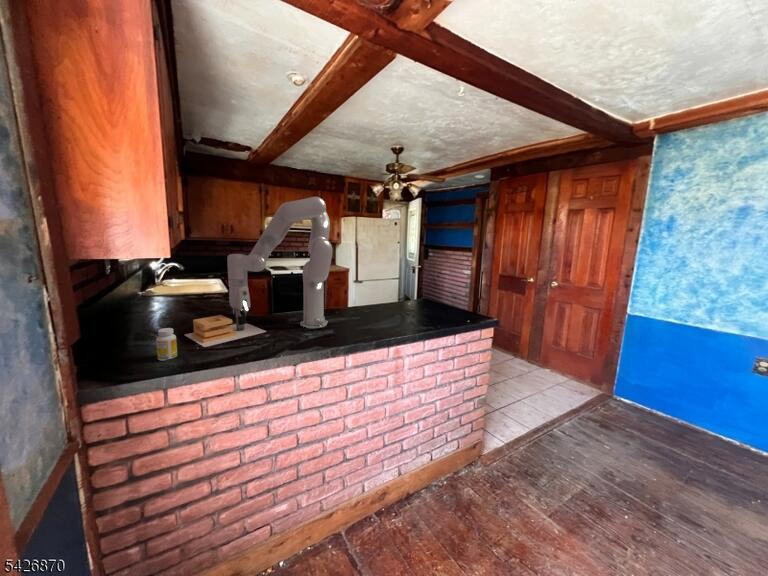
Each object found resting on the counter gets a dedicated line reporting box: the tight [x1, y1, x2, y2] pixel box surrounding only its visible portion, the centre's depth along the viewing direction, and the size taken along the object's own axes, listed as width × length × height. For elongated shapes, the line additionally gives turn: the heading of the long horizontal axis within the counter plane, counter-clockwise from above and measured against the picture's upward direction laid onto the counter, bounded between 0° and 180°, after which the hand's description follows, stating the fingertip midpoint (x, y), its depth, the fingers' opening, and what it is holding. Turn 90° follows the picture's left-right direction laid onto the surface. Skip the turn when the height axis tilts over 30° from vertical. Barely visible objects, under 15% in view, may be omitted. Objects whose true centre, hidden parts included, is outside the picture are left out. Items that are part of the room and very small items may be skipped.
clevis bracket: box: [190, 314, 236, 343], centre depth 129 cm, size 12×13×7 cm
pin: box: [235, 308, 244, 331], centre depth 137 cm, size 3×3×10 cm
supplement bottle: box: [155, 327, 178, 362], centre depth 107 cm, size 6×6×10 cm
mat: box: [184, 322, 267, 348], centre depth 134 cm, size 20×26×1 cm
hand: (240, 323), depth 138 cm, fingers closed on pin, 3 cm apart
